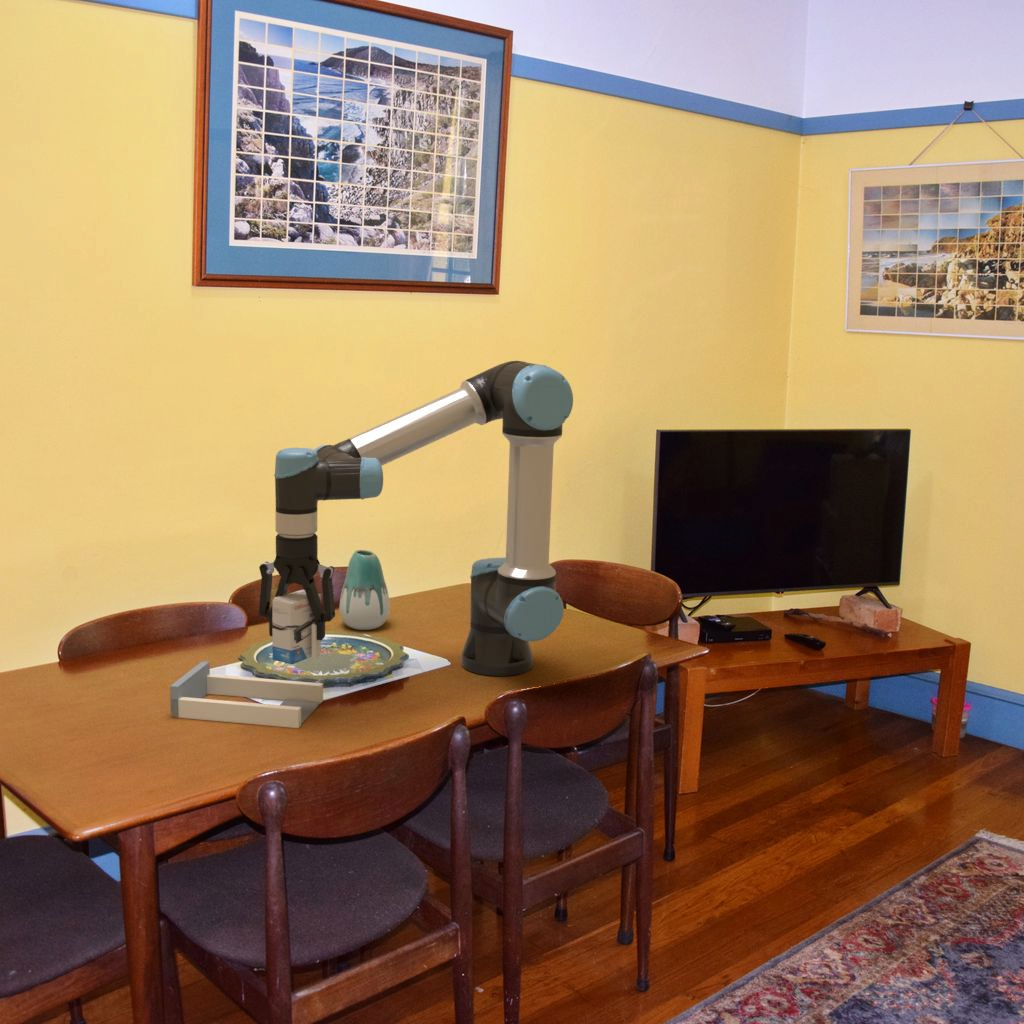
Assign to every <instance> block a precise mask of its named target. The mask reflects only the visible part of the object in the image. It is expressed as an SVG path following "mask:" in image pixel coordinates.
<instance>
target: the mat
mask: <svg viewBox="0 0 1024 1024" xmlns="http://www.w3.org/2000/svg"><path fill="white" fill-rule="evenodd" d="M279 705H282V706H294V707H301V725H303V724H304V723H305V722H306V720H307V719H308V718H309V717H310V716H311V715H312V714H313V713H314V712H315V711H316V709H317V708H319V706H320V705H321V703H318V702H307V701H295V700H282V702H281V703H280V704H279Z"/></svg>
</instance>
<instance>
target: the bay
mask: <svg viewBox="0 0 1024 1024" xmlns="http://www.w3.org/2000/svg"><path fill="white" fill-rule="evenodd" d="M210 665H211V663H210V661H205V660H204V661H203V660H202V661H201V662H200V663H198V664H197V665H196V666H193V668H191V669H190V670H189V671H188V672H186V673H185V674H184V675H182V676H181V677H180V678H178V679H177V680H176V681H175V682H174V683H172V684H171V685H169V686H170V687H169V691H170V692H169V694H170V695H169V696H170V717H171V718H179V719H180V718H181V719H190V720H201V721H202V720H203V721H210V722H211V721H212V722H213V721H214V722H224V723H237V724H246V725H247V724H248V725H249V724H250V725H256V726H257V725H260V726H268V727H269V726H270V727H280V728H293V729H299V728H301V726H302V724H301V707H294V706H282V705H280V704H269V703H268V704H267V703H258V702H247V701H245V702H244V701H235V700H221V699H210V698H204V697H205V696H206V695H207V694H208V695H218V696H228V697H229V696H230V697H241V698H253V699H254V698H255V699H263V700H264V699H265V700H275V701H277V700H278V701H284V700H295V701H307V702H318V703H320V704H322V703H323V701H324V683H322V682H321V683H320V682H311V681H309V682H308V681H300V680H299V681H298V680H296V681H295V680H285V679H284V680H283V679H274V678H273V679H271V678H263V677H262V678H261V677H249V676H240V675H239V676H236V675H226V674H215V673H214V674H213V673H211V670H210Z"/></svg>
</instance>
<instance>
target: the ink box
mask: <svg viewBox="0 0 1024 1024" xmlns="http://www.w3.org/2000/svg"><path fill="white" fill-rule="evenodd" d="M318 595H319V598H320V601H321V602H322V594H321V593H318ZM271 604H273V608H272V622H273V623H272V624H273V625H272V626H273V628H272V636H271V637H272V647H271V648H272V661H277V662H279V663H280V662H281V663H285V664H289V665H294V664H297V663H299V662H301V661H304V660H305V661H306V660H308V659H310V658H312V624H313V623H314V622H315V618H314V615H313V612H312V609H311V606H310V604H309V601H308V598H307V595H306V592H305V590H304V589H300V590H296V591H293V592H289V593H286V594H285V595H283V596H278V597H275V596H274V597H273V599H272V603H271ZM320 654H322V640H320Z"/></svg>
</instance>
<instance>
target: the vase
mask: <svg viewBox="0 0 1024 1024" xmlns="http://www.w3.org/2000/svg"><path fill="white" fill-rule="evenodd" d="M339 599H340V600H339V605H338V606H339V607H338V608H339V613H340V617H341V619H342V622H343V623H344V624H345V625H346V626H348V627H349V628H350V629H354V630H358V631H371V630H375V629H377V628H380V627H383V625H384V624H385V623H386V621H387V620H388V617H389V615H390V611H391V603H390V596H389V591H388V588H387V584H386V580H385V576H384V571H383V568H382V564H381V561H380V559H379V557H378V556H377V554H376V553H374V552H373V551H372V550H367V549H366V550H365V549H357V550H355V551H354V552H353V553H352V556H351V557H350V559H349V562H348V566H347V570H346V575H345V578H344V582H343V586H342V589H341V593H340V598H339Z"/></svg>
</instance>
